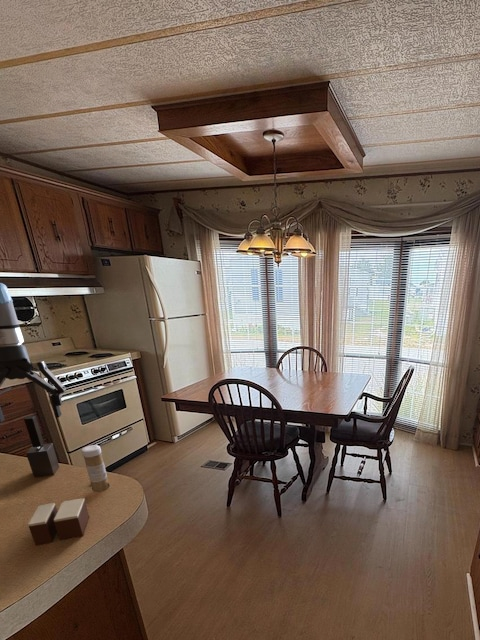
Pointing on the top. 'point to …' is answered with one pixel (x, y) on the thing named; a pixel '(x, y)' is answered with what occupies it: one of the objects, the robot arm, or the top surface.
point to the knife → (34, 432)
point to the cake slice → (43, 524)
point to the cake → (71, 519)
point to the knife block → (43, 461)
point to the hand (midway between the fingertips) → (30, 418)
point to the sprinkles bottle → (95, 467)
